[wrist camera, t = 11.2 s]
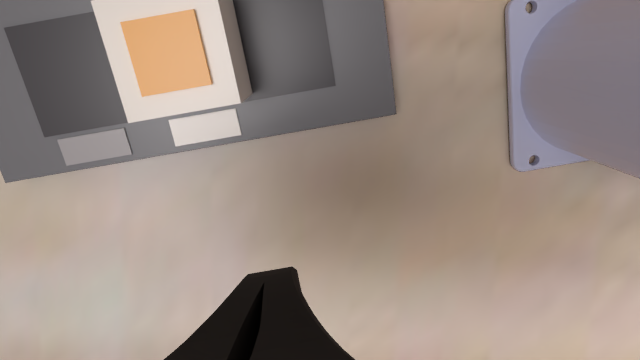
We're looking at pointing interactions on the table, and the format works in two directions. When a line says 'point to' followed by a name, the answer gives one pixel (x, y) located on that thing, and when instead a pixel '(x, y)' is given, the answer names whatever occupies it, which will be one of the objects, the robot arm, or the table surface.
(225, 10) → the white orange block
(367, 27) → the switch plate
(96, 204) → the table surface
